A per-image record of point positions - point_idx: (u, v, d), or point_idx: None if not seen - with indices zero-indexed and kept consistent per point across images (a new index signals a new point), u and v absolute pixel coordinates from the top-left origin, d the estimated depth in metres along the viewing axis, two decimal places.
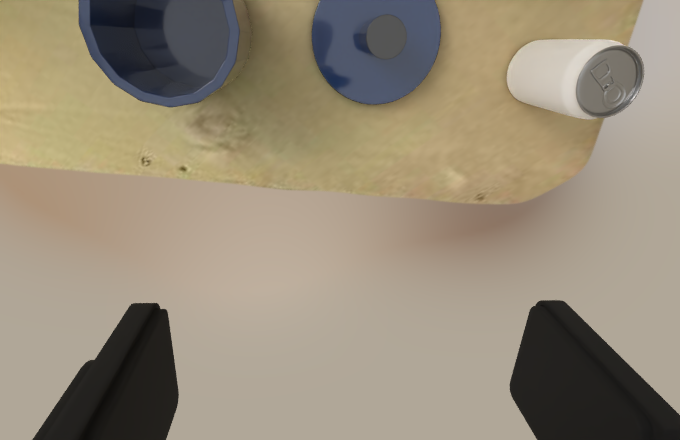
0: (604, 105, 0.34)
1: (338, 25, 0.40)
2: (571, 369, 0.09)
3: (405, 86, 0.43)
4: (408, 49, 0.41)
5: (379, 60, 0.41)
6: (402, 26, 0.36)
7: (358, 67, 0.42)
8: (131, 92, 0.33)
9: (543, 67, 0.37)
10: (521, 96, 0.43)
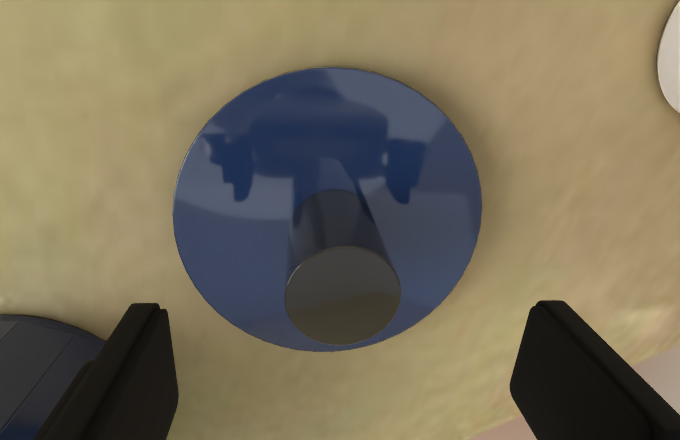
0: None
1: (244, 262, 0.17)
2: (571, 369, 0.09)
3: (449, 265, 0.18)
4: (409, 206, 0.17)
5: None
6: (364, 255, 0.12)
7: None
8: None
9: None
10: None
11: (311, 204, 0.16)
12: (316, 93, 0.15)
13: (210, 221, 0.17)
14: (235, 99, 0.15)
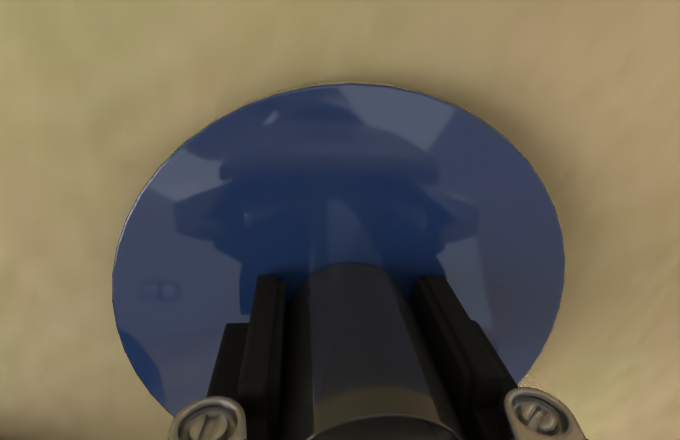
0: None
1: None
2: (433, 334, 0.10)
3: (512, 359, 0.13)
4: (460, 283, 0.12)
5: None
6: (416, 427, 0.07)
7: None
8: None
9: None
10: None
11: (318, 291, 0.10)
12: (326, 124, 0.10)
13: (168, 309, 0.11)
14: (200, 133, 0.09)
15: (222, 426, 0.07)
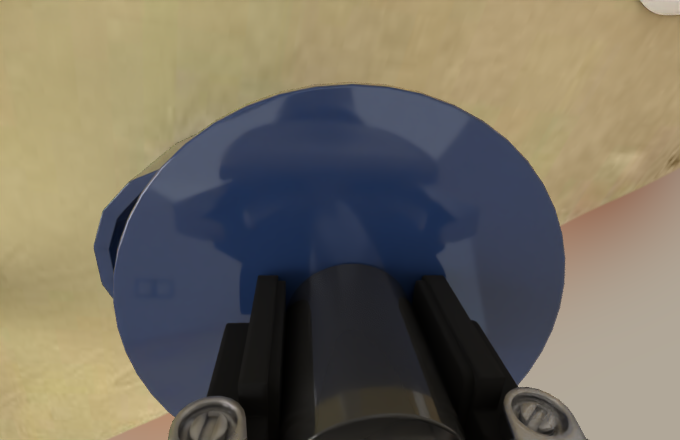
0: None
1: None
2: (433, 334, 0.10)
3: (512, 359, 0.13)
4: (460, 284, 0.12)
5: None
6: (417, 427, 0.07)
7: None
8: None
9: None
10: None
11: (319, 292, 0.10)
12: (327, 124, 0.10)
13: (169, 309, 0.11)
14: (201, 134, 0.09)
15: (222, 426, 0.07)
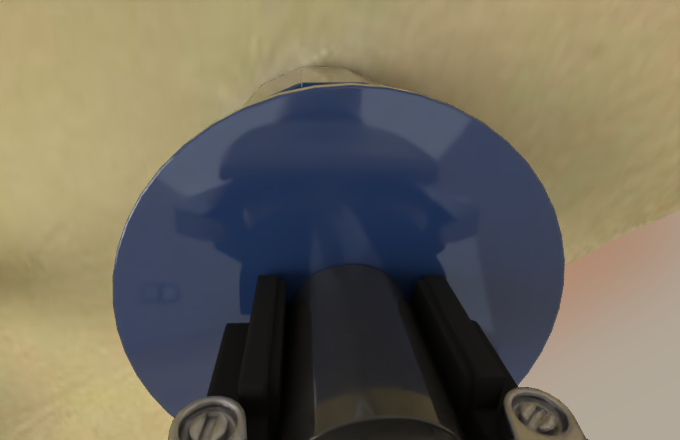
0: None
1: None
2: (433, 334, 0.10)
3: (512, 360, 0.13)
4: (460, 285, 0.12)
5: None
6: (416, 429, 0.07)
7: None
8: None
9: None
10: None
11: (318, 293, 0.10)
12: (327, 125, 0.10)
13: (169, 309, 0.11)
14: (200, 135, 0.09)
15: (222, 426, 0.07)
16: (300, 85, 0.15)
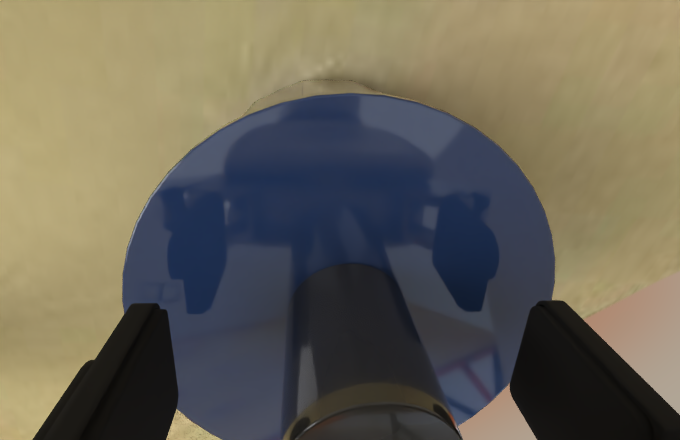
0: None
1: (225, 358, 0.13)
2: (571, 369, 0.09)
3: (505, 356, 0.14)
4: (454, 283, 0.12)
5: None
6: (410, 415, 0.07)
7: None
8: None
9: None
10: None
11: (319, 290, 0.11)
12: (327, 131, 0.10)
13: (176, 307, 0.12)
14: (207, 140, 0.10)
15: None
16: None
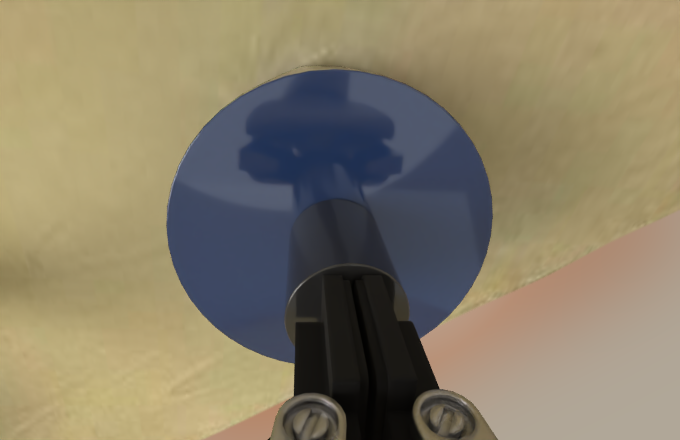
0: None
1: (242, 274, 0.17)
2: (363, 335, 0.10)
3: (458, 277, 0.18)
4: (416, 216, 0.16)
5: None
6: (370, 273, 0.11)
7: None
8: None
9: None
10: None
11: (313, 215, 0.15)
12: (318, 97, 0.14)
13: (206, 232, 0.16)
14: (232, 103, 0.14)
15: (324, 422, 0.07)
16: None
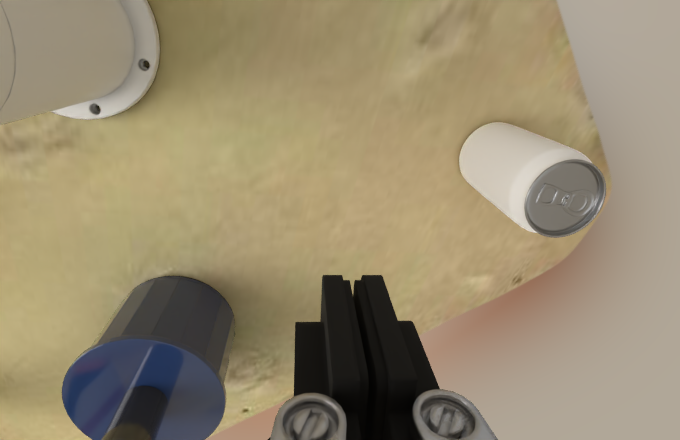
0: (576, 216, 0.29)
1: (102, 416, 0.34)
2: (363, 335, 0.10)
3: (213, 414, 0.35)
4: (183, 390, 0.34)
5: (167, 414, 0.35)
6: None
7: None
8: None
9: (488, 191, 0.33)
10: None
11: (126, 398, 0.32)
12: (125, 349, 0.32)
13: (81, 400, 0.33)
14: (86, 353, 0.32)
15: (324, 422, 0.07)
16: None
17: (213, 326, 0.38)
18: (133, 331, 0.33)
